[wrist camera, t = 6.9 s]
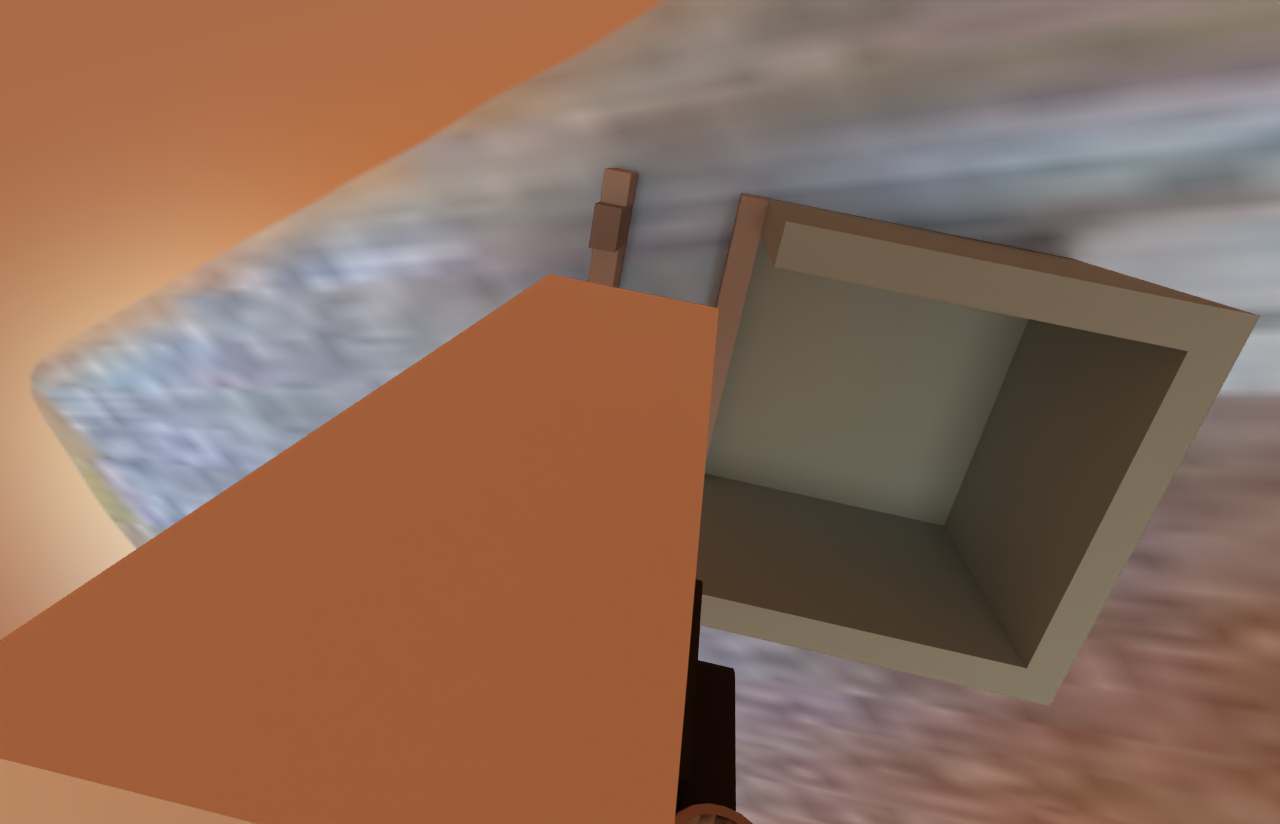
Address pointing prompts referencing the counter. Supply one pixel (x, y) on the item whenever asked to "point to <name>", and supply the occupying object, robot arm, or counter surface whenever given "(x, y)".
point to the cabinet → (932, 438)
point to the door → (405, 602)
